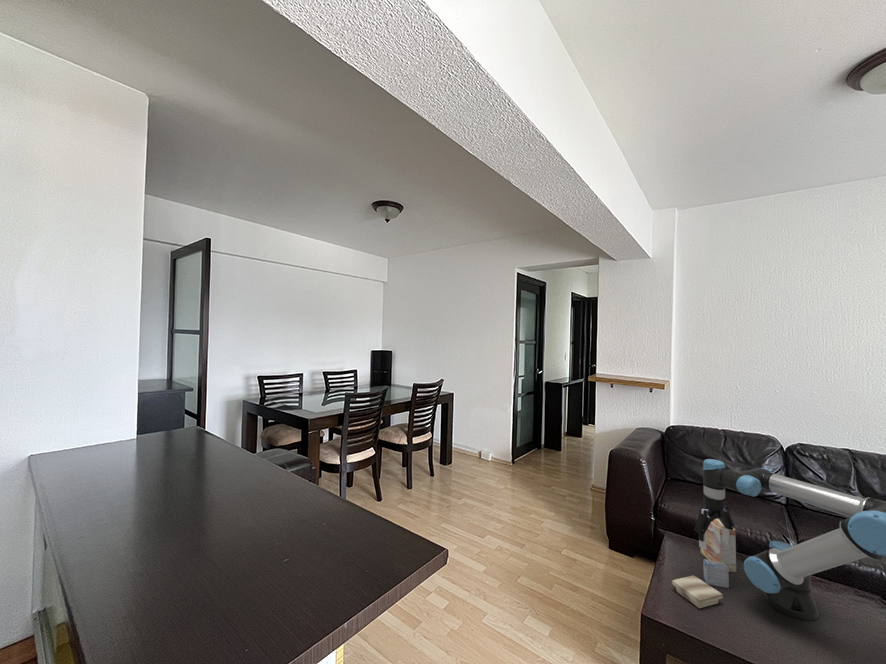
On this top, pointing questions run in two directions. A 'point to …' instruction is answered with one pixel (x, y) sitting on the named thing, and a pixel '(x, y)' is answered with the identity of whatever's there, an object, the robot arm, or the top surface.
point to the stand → (697, 591)
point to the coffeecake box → (720, 545)
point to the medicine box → (716, 573)
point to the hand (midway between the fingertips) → (714, 545)
